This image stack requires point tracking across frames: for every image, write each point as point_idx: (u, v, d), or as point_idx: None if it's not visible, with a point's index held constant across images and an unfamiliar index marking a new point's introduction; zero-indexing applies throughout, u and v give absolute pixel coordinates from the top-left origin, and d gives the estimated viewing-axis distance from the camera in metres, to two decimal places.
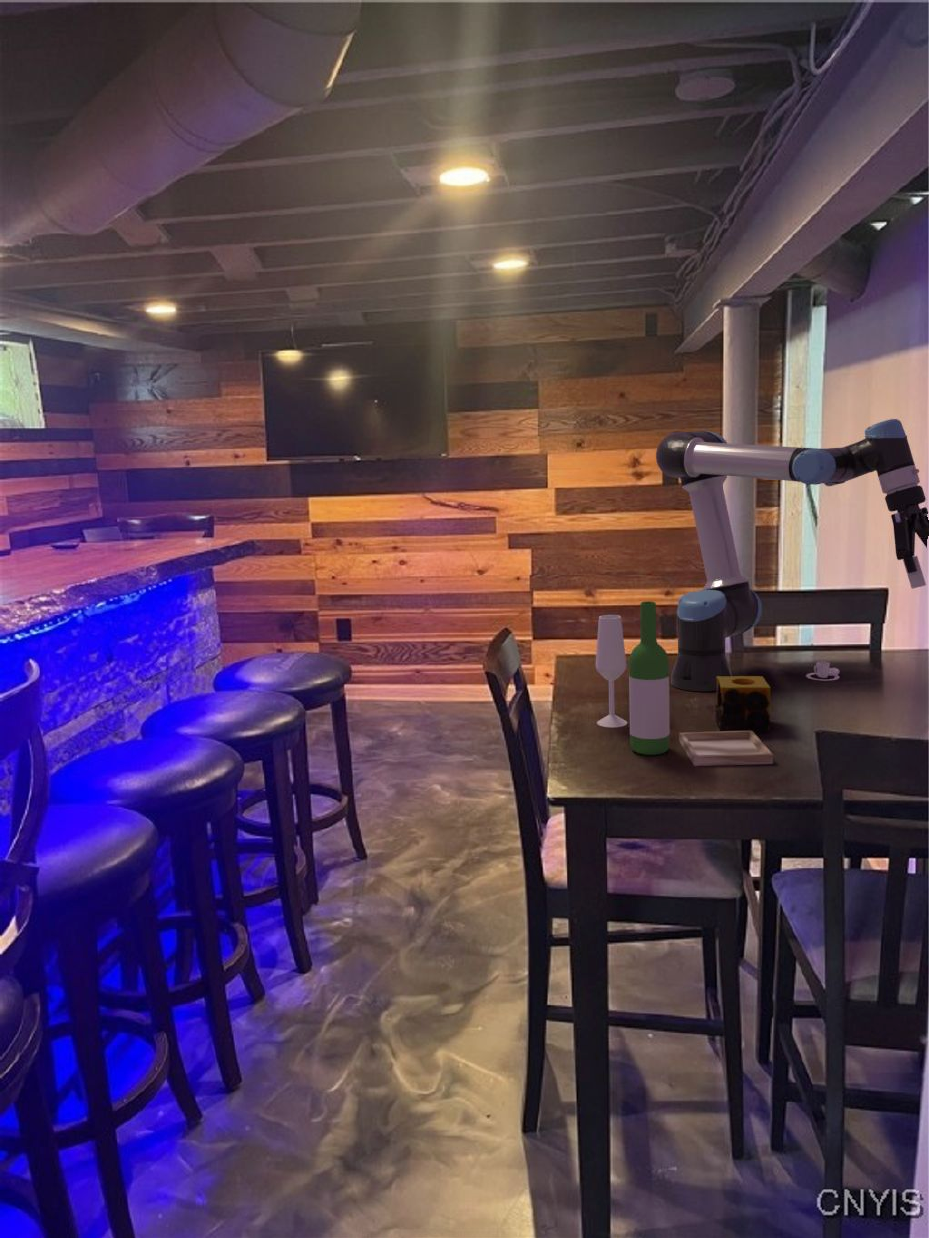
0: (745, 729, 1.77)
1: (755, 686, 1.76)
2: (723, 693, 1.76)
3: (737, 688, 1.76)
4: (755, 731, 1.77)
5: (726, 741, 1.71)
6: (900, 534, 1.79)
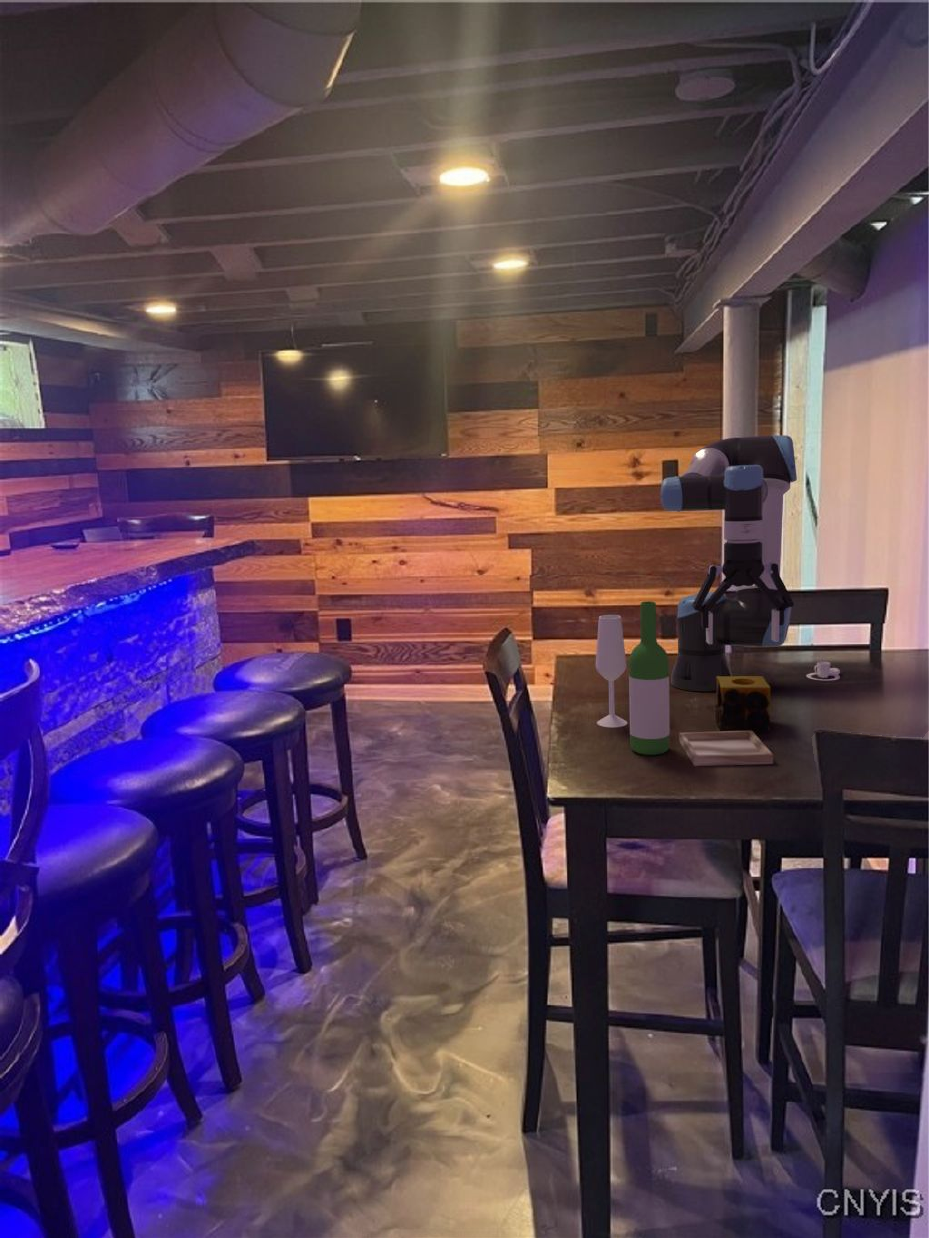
0: (745, 729, 1.77)
1: (755, 686, 1.76)
2: (723, 693, 1.76)
3: (737, 688, 1.76)
4: (755, 731, 1.77)
5: (726, 741, 1.71)
6: (702, 588, 1.77)
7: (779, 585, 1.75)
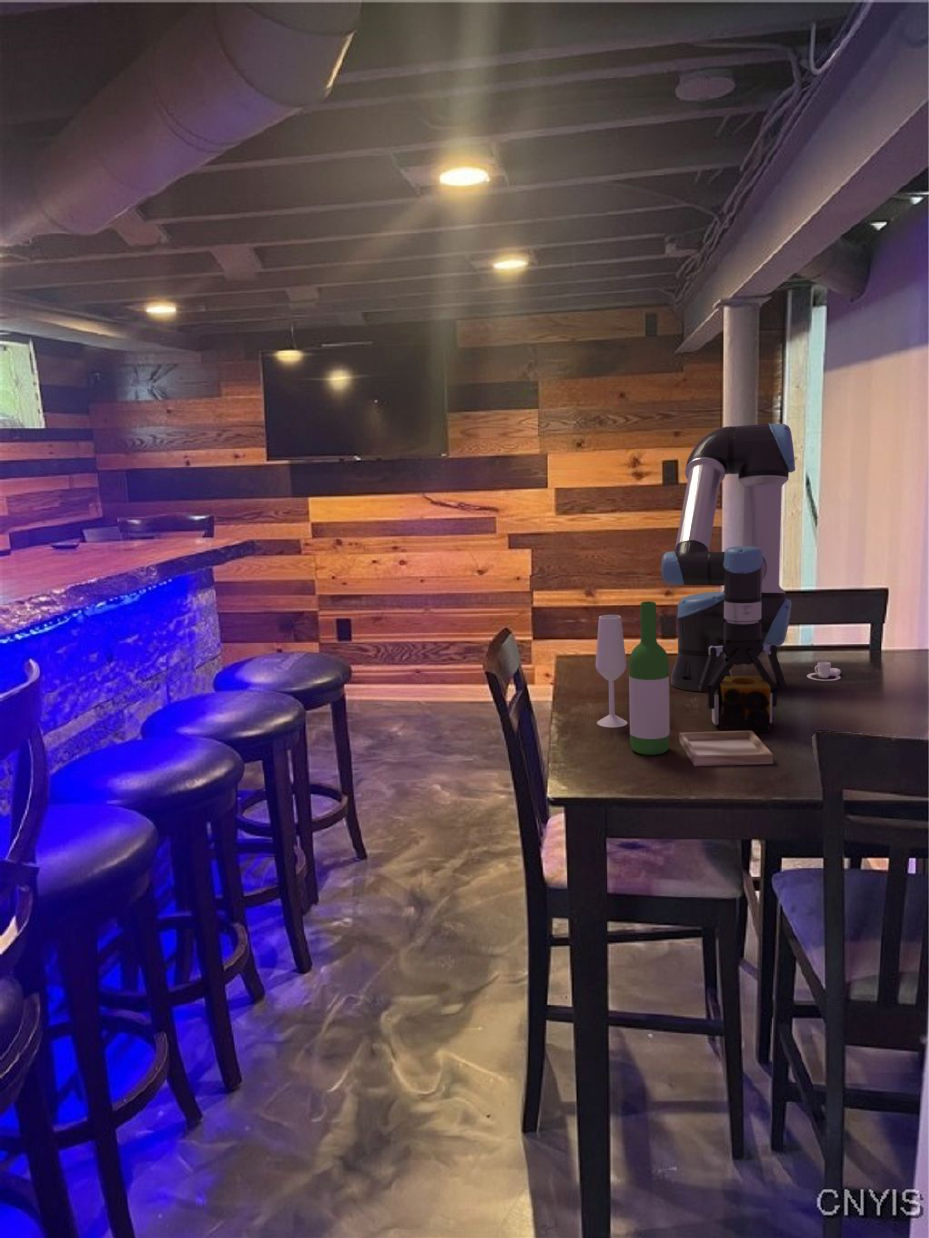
0: (745, 729, 1.77)
1: (755, 686, 1.76)
2: (723, 693, 1.76)
3: (737, 688, 1.76)
4: (755, 731, 1.77)
5: (726, 741, 1.71)
6: (705, 669, 1.80)
7: (775, 666, 1.78)
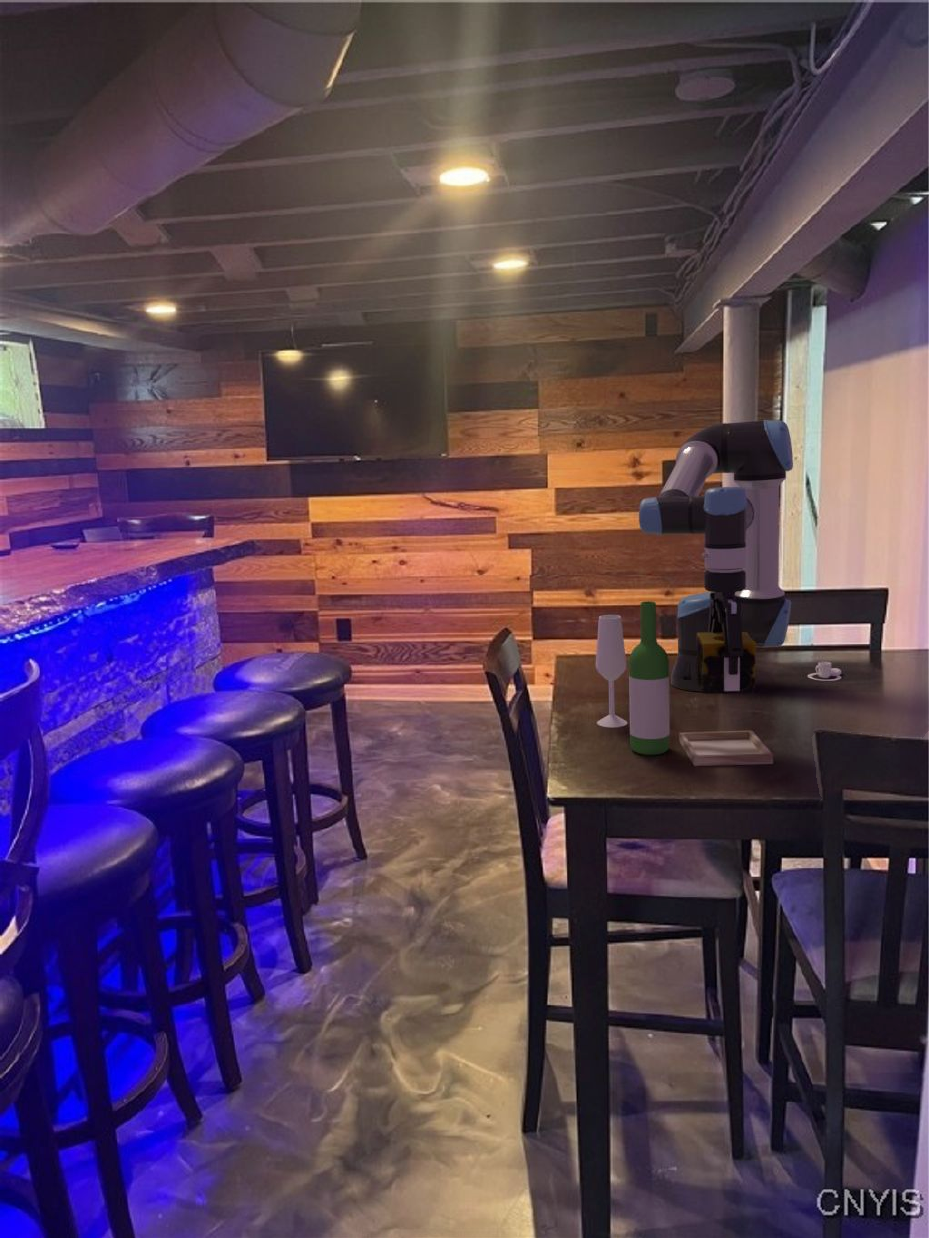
0: (698, 683, 1.65)
1: (705, 640, 1.61)
2: None
3: (698, 637, 1.65)
4: (700, 688, 1.63)
5: (726, 741, 1.71)
6: None
7: (726, 627, 1.56)
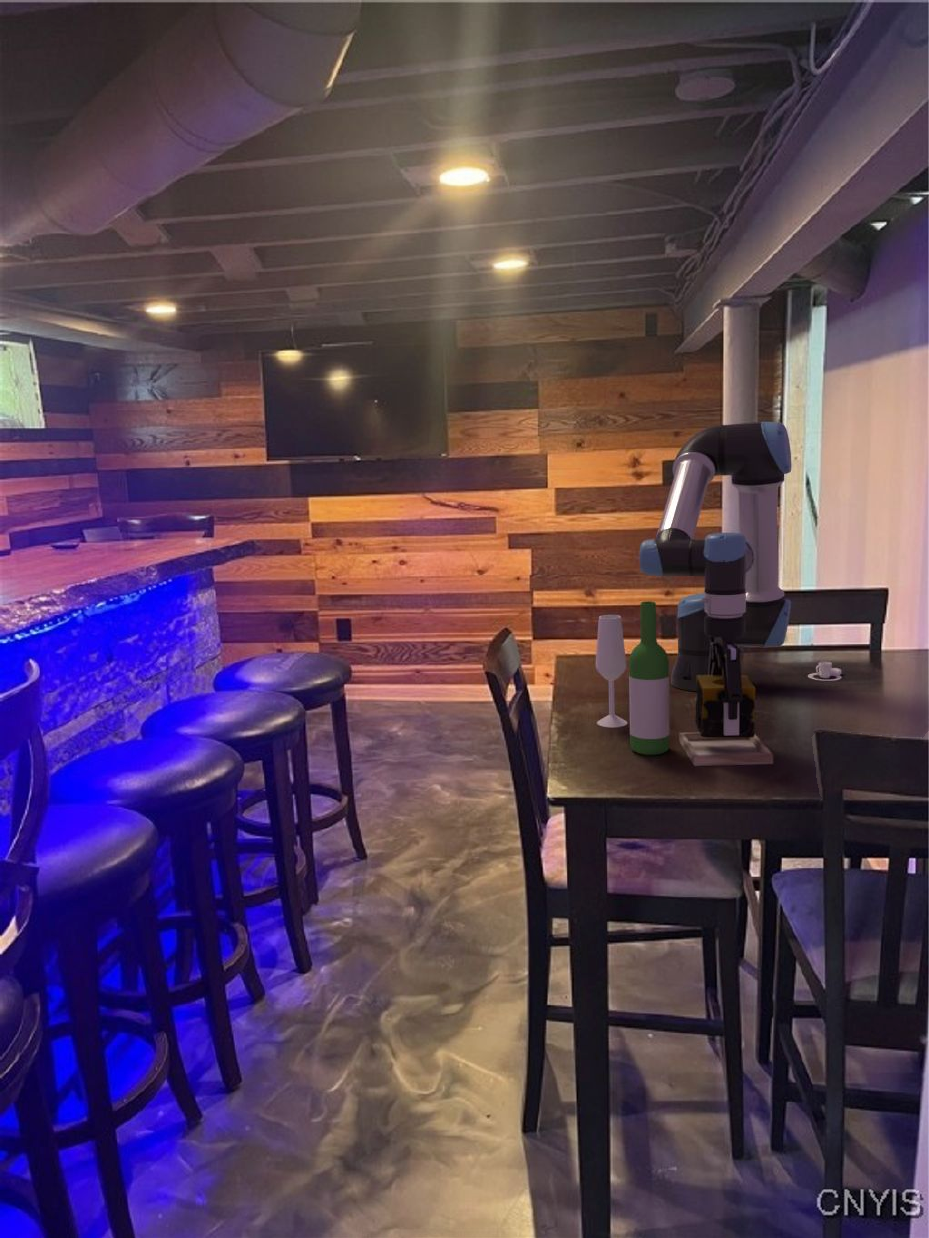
0: (698, 725, 1.66)
1: (705, 684, 1.63)
2: None
3: (698, 680, 1.66)
4: (700, 731, 1.64)
5: (726, 741, 1.71)
6: None
7: (726, 673, 1.57)
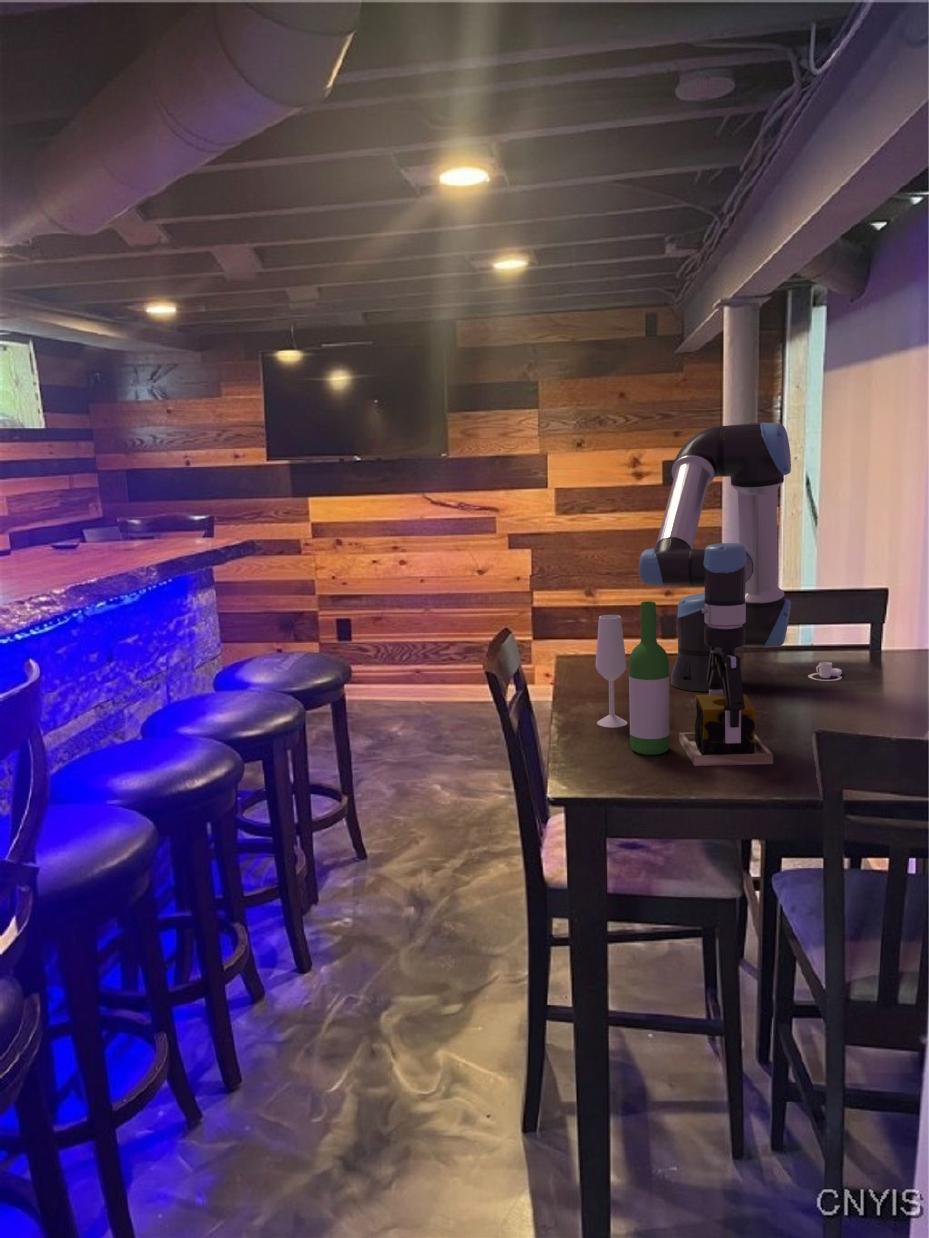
0: (698, 745, 1.67)
1: (705, 704, 1.63)
2: (696, 701, 1.70)
3: (698, 700, 1.67)
4: (700, 751, 1.65)
5: None
6: None
7: (727, 682, 1.57)
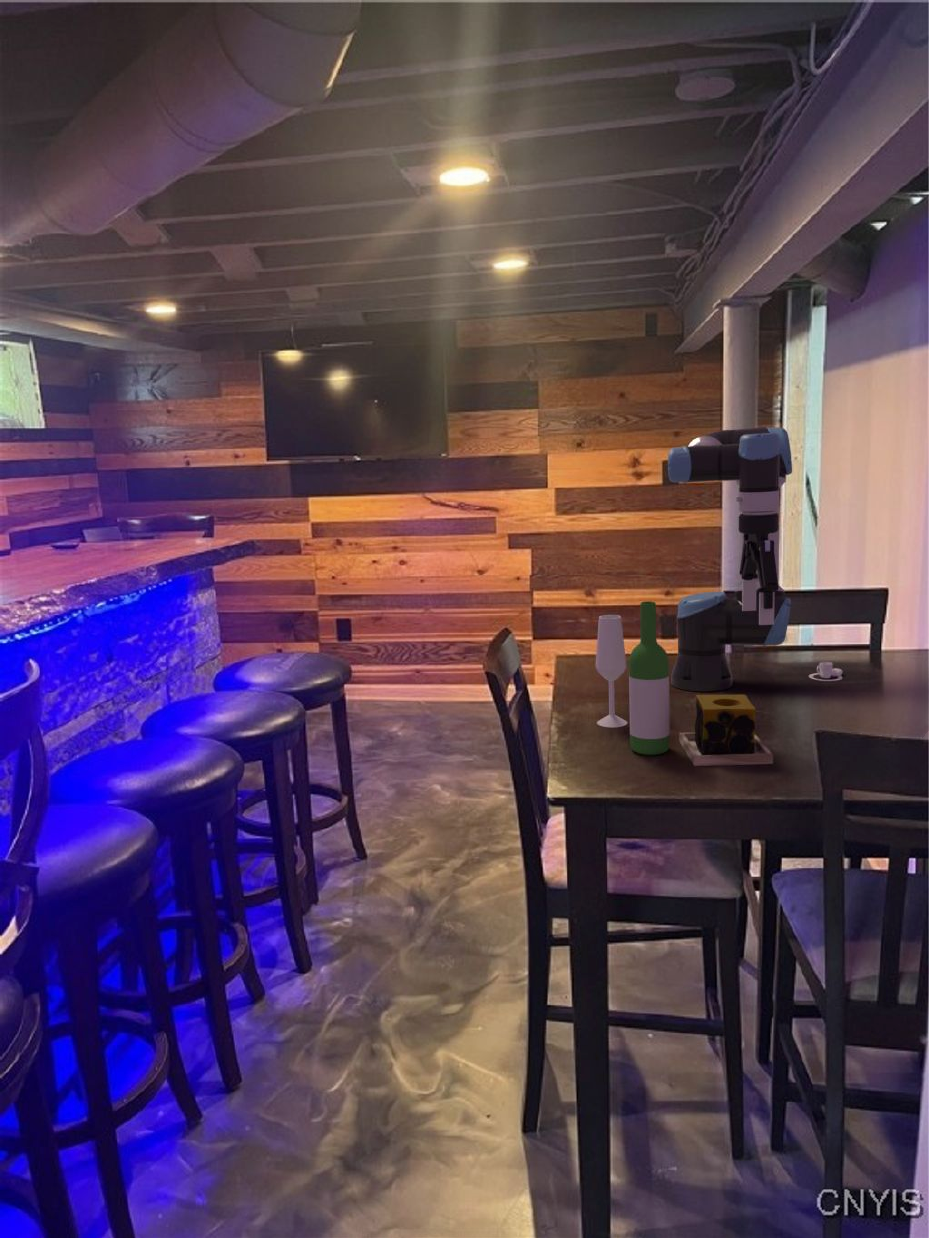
0: (698, 745, 1.67)
1: (705, 704, 1.63)
2: (696, 701, 1.70)
3: (698, 700, 1.67)
4: (700, 751, 1.65)
5: None
6: None
7: (761, 565, 1.63)
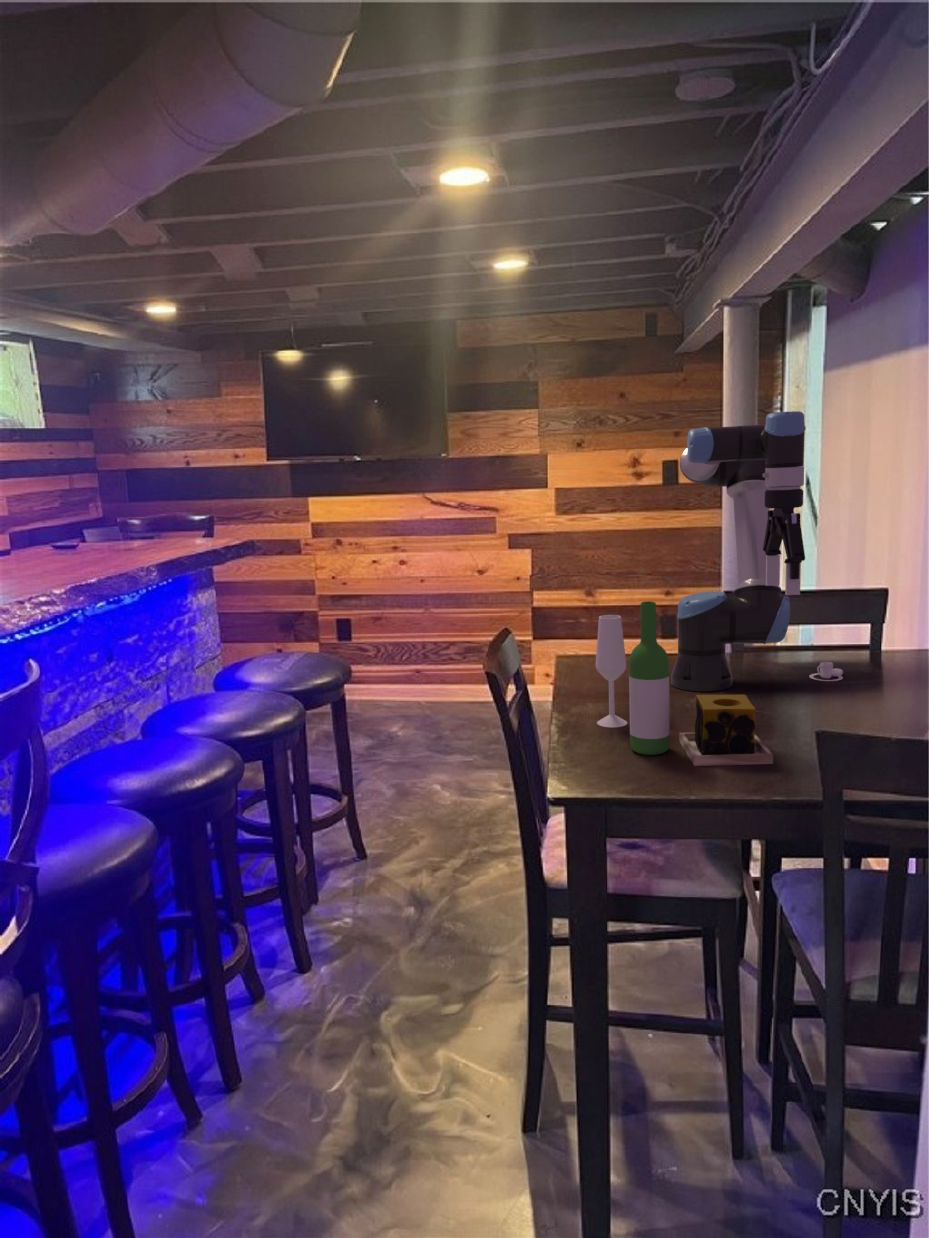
0: (698, 745, 1.67)
1: (705, 704, 1.63)
2: (696, 701, 1.70)
3: (698, 700, 1.67)
4: (700, 751, 1.65)
5: None
6: None
7: (788, 536, 1.70)
